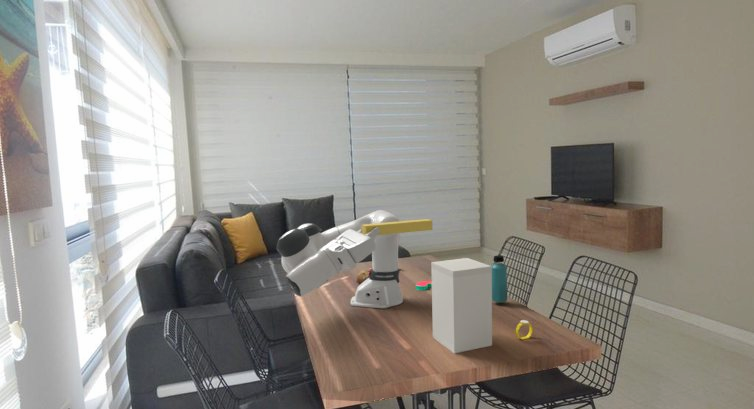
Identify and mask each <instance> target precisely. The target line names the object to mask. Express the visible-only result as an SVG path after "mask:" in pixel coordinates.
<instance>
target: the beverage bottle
mask: <svg viewBox="0 0 754 409" xmlns="http://www.w3.org/2000/svg"><path fill="white" fill-rule="evenodd" d="M493 262H495V263H493V264H492V265H491V266H492V302H495V303H506V302H507V301H508V279H507V278H508V274H507V266H506V265H505V263H503V262H505V257H504V255H494V256H493Z"/></svg>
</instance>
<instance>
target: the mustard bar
mask: <svg viewBox="0 0 754 409" xmlns="http://www.w3.org/2000/svg"><path fill="white" fill-rule="evenodd" d="M374 227H378V228H379V230H380V233H379V234H377V235H385V234H395V233H400V234H404V233H414V232H415V233H416V232H424V231H426V232H427V231H433V220H432V219H429V218H422V219H413V220H402V221H400V220H399V222H387V223H375V224H364V225H362V234H365V235H366V234H367V233H369V232H371V231H372V229H373V228H374Z"/></svg>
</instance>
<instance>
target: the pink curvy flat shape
mask: <svg viewBox="0 0 754 409" xmlns="http://www.w3.org/2000/svg"><path fill="white" fill-rule="evenodd" d="M428 288H431V289H432V280H425V281H424V280H423V281H419V282H417V283H416V284H415V290H417V291H427V290H428Z"/></svg>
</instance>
